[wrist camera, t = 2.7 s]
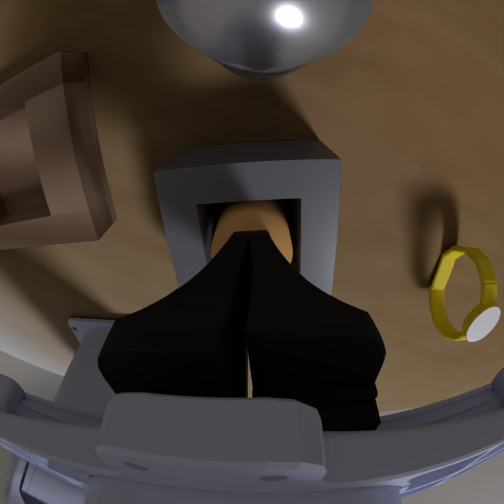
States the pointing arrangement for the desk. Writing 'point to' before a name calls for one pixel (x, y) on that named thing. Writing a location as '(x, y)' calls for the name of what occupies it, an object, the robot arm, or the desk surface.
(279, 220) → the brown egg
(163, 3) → the steel billet
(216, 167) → the button housing
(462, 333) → the watch
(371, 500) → the robot arm
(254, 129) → the desk surface
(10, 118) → the frame
